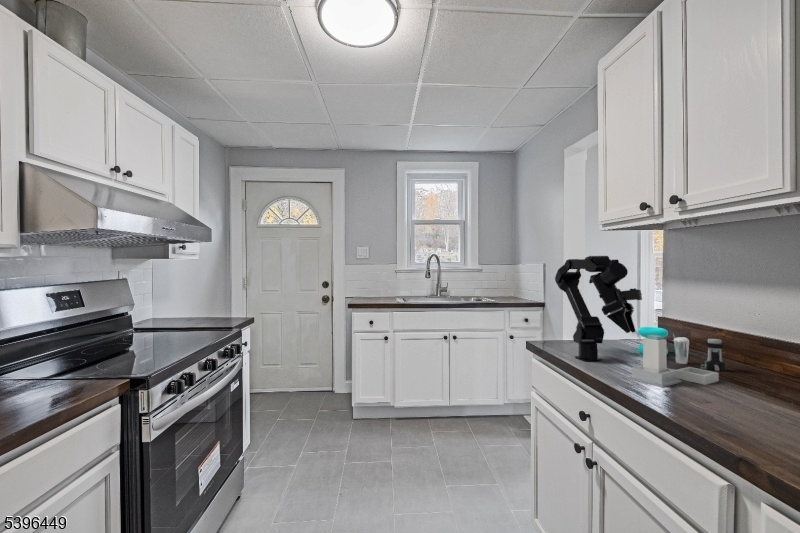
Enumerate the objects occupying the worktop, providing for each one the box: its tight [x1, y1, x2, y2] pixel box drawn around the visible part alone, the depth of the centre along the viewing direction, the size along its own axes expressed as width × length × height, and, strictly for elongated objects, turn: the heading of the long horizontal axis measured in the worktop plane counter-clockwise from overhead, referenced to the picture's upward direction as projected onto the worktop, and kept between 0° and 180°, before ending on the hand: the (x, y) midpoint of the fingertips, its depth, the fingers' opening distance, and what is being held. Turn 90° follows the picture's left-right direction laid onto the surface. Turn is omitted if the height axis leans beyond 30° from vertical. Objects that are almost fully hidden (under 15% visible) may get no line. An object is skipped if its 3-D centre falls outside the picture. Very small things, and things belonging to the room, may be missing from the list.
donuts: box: [637, 326, 669, 356], centre depth 155 cm, size 10×10×10 cm
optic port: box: [628, 364, 683, 388], centre depth 120 cm, size 10×10×4 cm
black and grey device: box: [699, 338, 726, 372], centre depth 132 cm, size 7×5×10 cm
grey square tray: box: [676, 366, 720, 386], centre depth 121 cm, size 8×8×2 cm
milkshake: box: [672, 333, 690, 365], centre depth 141 cm, size 5×5×10 cm
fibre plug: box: [642, 335, 668, 373], centre depth 120 cm, size 4×4×13 cm
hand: (631, 332), depth 130 cm, fingers open, 9 cm apart
